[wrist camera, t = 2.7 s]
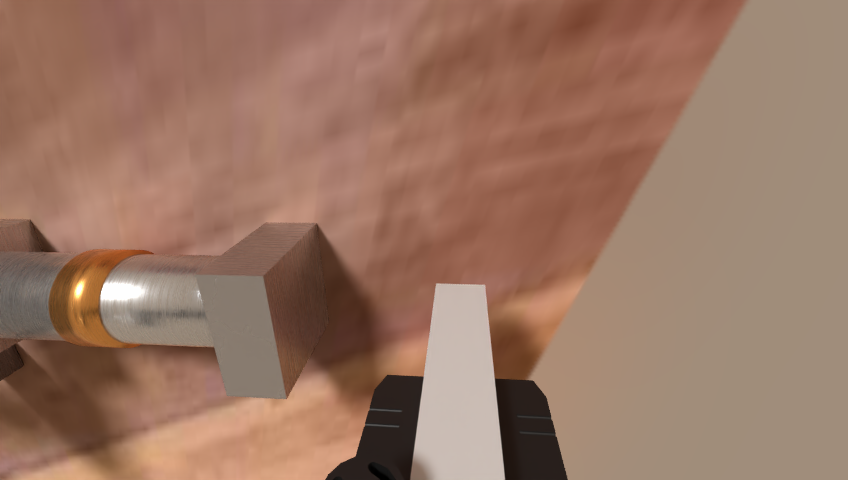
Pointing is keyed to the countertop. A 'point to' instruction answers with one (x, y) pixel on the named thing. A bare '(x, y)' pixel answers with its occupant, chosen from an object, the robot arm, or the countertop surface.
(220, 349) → the tube
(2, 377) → the collar rail
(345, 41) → the countertop surface
